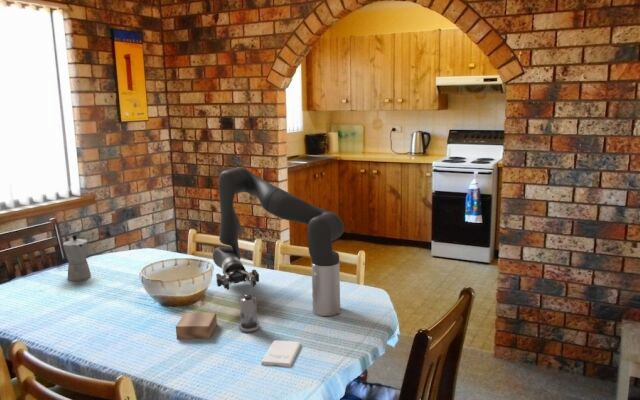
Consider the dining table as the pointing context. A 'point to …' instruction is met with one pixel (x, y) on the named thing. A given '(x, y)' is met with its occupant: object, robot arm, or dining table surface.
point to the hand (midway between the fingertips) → (241, 285)
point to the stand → (196, 326)
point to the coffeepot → (77, 259)
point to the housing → (248, 314)
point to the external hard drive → (281, 353)
